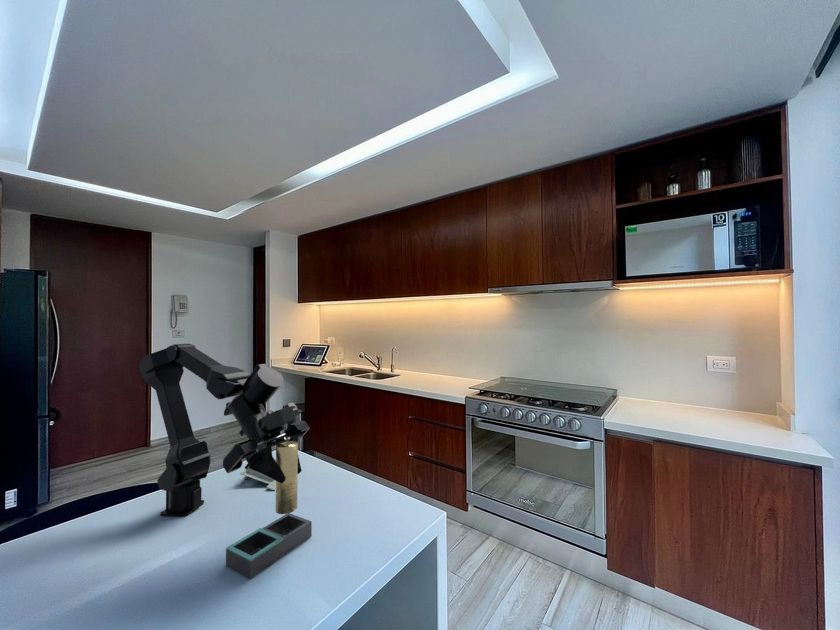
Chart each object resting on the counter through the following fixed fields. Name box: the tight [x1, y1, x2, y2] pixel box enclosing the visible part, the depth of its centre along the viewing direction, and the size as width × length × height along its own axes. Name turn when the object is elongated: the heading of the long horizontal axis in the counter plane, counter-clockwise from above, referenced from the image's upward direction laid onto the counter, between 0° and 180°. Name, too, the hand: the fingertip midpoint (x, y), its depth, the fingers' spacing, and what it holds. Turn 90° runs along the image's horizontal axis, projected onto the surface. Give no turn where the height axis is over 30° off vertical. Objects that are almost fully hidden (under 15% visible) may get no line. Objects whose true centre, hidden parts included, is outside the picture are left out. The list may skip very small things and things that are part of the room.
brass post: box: [274, 441, 299, 515], centre depth 71 cm, size 4×4×13 cm
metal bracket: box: [239, 459, 276, 491], centre depth 99 cm, size 14×6×15 cm
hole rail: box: [225, 513, 313, 580], centre depth 67 cm, size 14×7×3 cm, turn 151°
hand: (291, 477), depth 70 cm, fingers closed on brass post, 4 cm apart
